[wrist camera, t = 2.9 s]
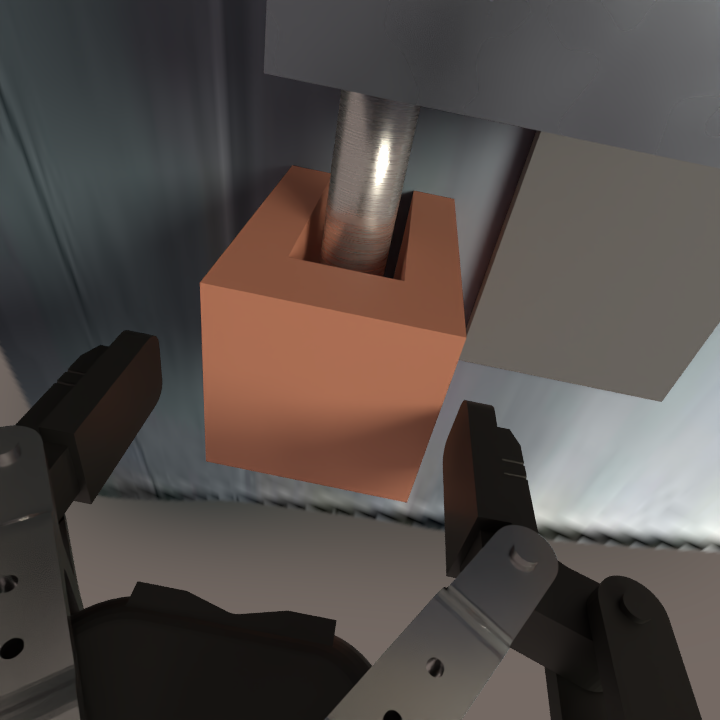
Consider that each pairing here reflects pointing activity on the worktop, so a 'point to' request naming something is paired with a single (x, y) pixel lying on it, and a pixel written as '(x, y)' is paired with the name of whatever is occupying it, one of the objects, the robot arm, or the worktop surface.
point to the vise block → (492, 85)
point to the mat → (602, 269)
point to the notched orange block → (329, 346)
